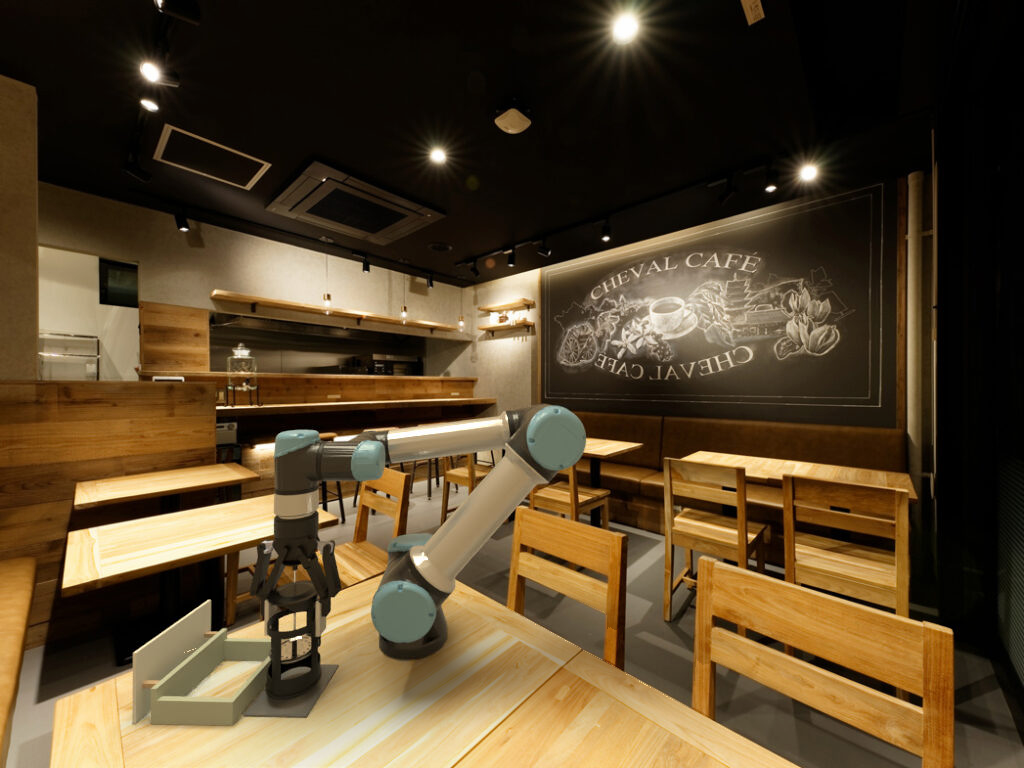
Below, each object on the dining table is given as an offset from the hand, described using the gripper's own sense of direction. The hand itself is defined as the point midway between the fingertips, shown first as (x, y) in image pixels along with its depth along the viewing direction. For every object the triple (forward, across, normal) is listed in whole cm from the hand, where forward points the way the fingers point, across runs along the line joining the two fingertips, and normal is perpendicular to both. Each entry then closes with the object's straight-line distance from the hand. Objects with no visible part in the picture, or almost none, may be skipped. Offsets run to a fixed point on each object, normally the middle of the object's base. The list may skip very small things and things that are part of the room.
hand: (295, 631), depth 78 cm
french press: (+9, 0, 0) cm, 9 cm away
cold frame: (+11, +15, 0) cm, 18 cm away
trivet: (+11, 0, 0) cm, 11 cm away
